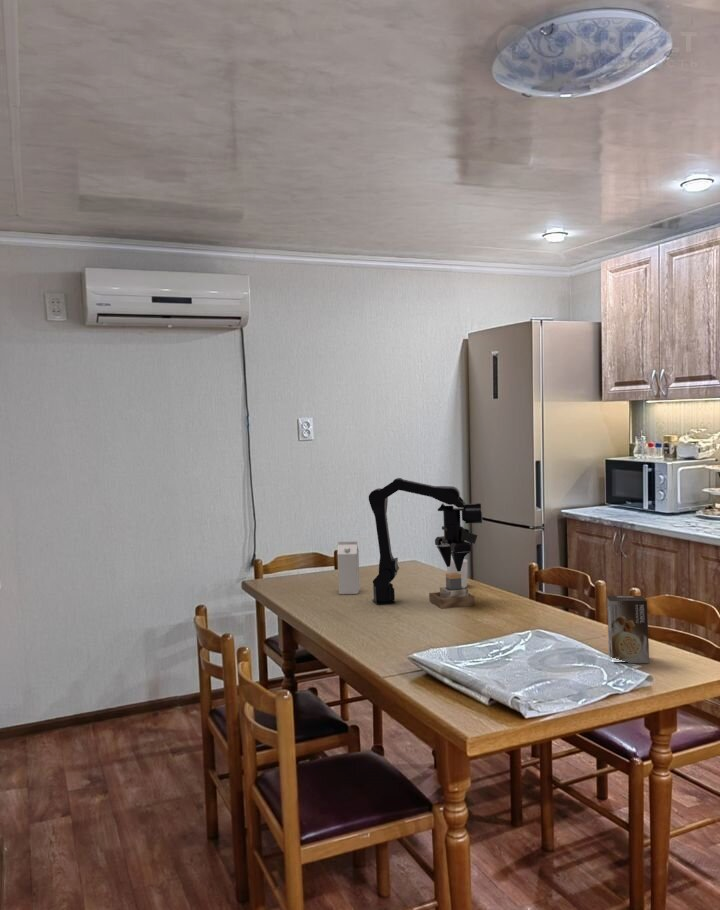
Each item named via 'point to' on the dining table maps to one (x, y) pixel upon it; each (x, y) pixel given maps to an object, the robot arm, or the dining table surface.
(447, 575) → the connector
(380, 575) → the robot arm
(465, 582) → the white cup
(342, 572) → the milk carton
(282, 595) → the dining table surface
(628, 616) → the coffee box
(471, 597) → the walled box
